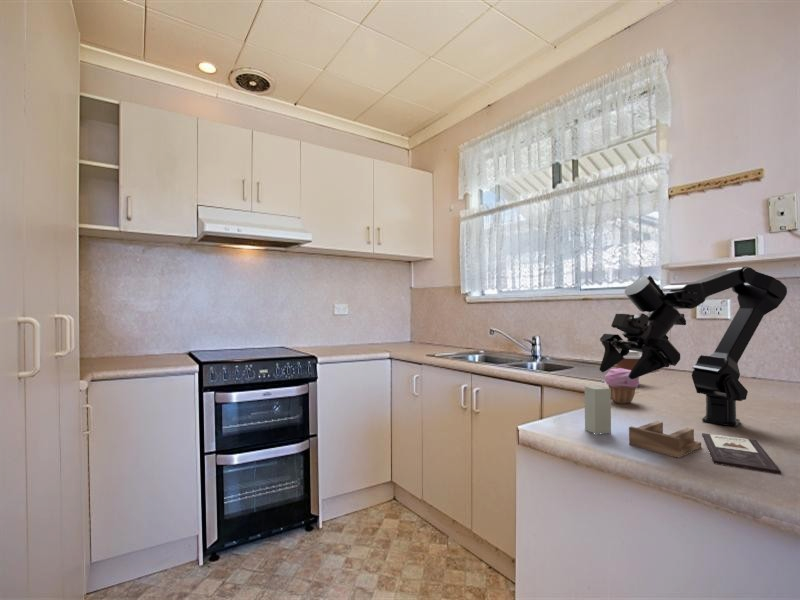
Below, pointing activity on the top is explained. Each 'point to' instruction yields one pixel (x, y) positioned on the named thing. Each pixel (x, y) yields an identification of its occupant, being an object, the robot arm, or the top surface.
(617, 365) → the coffee cup
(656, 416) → the top surface
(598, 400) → the pale green rectangular block
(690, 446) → the tray
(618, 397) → the cupcake
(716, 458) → the chocolate bar
